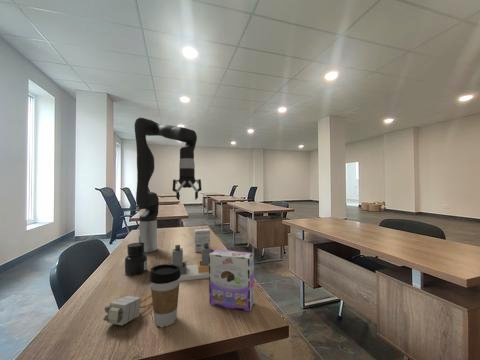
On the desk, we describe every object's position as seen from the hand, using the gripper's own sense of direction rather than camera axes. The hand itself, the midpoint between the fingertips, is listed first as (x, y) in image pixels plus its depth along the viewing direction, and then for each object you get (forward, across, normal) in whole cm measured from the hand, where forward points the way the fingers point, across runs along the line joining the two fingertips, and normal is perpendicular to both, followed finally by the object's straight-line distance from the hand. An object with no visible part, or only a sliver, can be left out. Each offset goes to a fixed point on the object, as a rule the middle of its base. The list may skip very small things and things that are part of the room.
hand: (187, 199), depth 114 cm
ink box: (+30, -8, -12) cm, 34 cm away
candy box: (+30, -14, +46) cm, 57 cm away
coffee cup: (+30, +6, +50) cm, 59 cm away
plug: (+29, -8, +19) cm, 35 cm away
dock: (+30, -2, +19) cm, 36 cm away
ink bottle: (+30, +22, +11) cm, 39 cm away
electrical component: (+30, +14, +40) cm, 52 cm away
